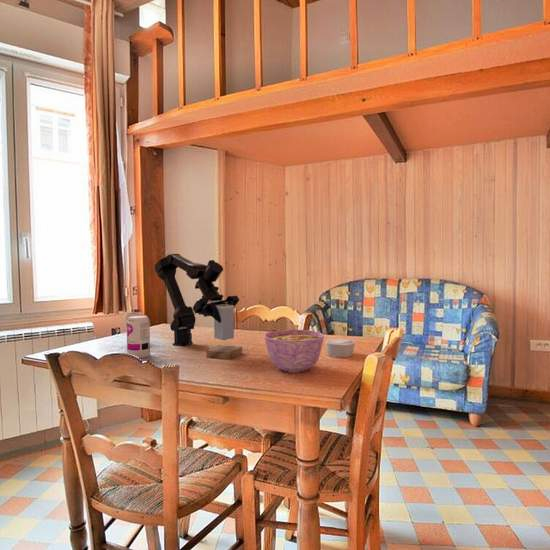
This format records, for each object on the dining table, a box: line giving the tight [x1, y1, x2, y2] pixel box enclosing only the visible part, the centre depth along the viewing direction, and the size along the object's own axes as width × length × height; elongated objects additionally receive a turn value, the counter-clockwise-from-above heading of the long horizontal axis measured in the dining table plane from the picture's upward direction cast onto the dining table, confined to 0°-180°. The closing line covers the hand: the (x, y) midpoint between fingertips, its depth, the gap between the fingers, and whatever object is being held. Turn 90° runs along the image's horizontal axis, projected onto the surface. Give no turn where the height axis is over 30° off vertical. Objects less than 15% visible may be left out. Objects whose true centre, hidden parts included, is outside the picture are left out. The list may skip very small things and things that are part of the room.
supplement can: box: [126, 314, 151, 359], centre depth 169 cm, size 8×8×15 cm
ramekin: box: [324, 338, 356, 358], centre depth 169 cm, size 11×11×5 cm
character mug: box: [124, 311, 143, 329], centre depth 192 cm, size 11×7×13 cm, turn 44°
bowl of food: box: [263, 329, 325, 373], centre depth 149 cm, size 20×20×12 cm
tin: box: [213, 304, 235, 341], centre depth 169 cm, size 5×5×12 cm
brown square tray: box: [205, 344, 243, 360], centre depth 170 cm, size 10×10×3 cm
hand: (226, 321), depth 168 cm, fingers closed on tin, 5 cm apart
